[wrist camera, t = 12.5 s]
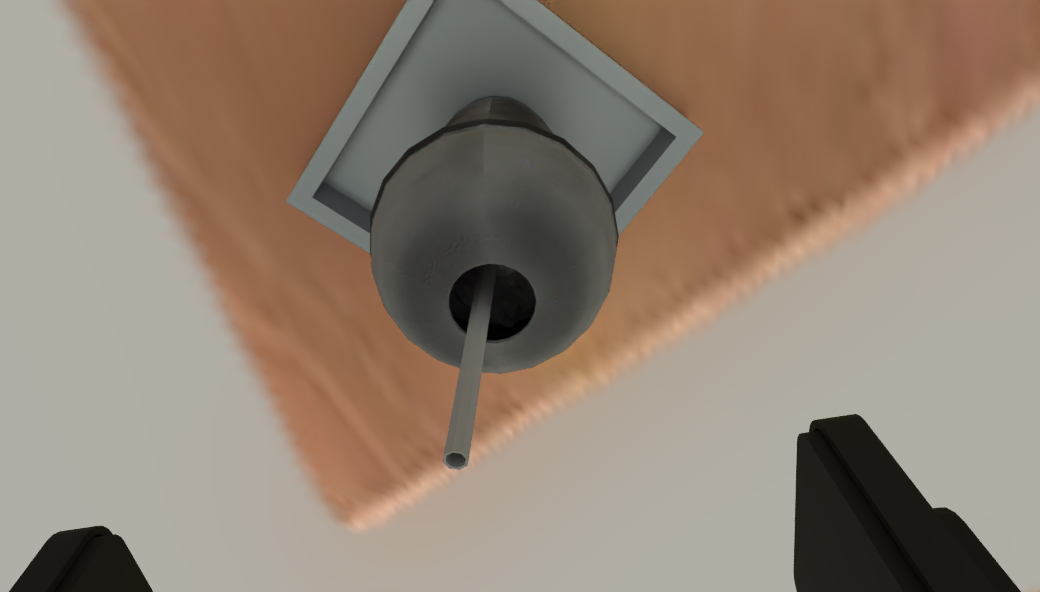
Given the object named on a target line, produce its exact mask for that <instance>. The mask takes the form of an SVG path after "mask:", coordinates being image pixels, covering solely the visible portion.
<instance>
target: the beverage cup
mask: <svg viewBox="0 0 1040 592" xmlns="http://www.w3.org/2000/svg"><path fill="white" fill-rule="evenodd" d="M618 238H619V234H618V228H617V222H616V216H615V210H614V205H613V199H612V197H611V195H610V194H609V192H608V190H607V188H606V186H605V185H604V183H603V181H602V179H601V177H600V175H599V174H598V172H597V170H596V168H595V166H594V165H593V164H592V163H591V162H590V161H589V160H587V159H586V158H585V157H584V156H583V155H582V154H581V153H580V152H579V151H577V150H576V149H575V148H574V147H573V146H572V145H571V144H570V143H569V142H567V141H566V140H565V139H564V138H562V137H560V136H557V135H555V134H553V133H552V131H551V130H550V129H549V127H548V126H547V125H546V123H545V122H544V121H543V119H542V118H541V117H539V116H538V115H537V114H536V113H535V112H534V111H533V110H532V109H531V108H529V107H528V106H527V105H526V104H524V103H522V102H520V101H517V100H515V99H513V98H511V97H504V96H489V97H484V98H480V99H477V100H475V101H473V102H472V103H470V104H468V105H467V106H465V107H464V108H462V109H461V110H459V111H458V112H457V113H456V114H455V115H454V116H453V117H452V119H451V120H450V121H449V122H448V123H447V124H446V126H445V127H443V128H441V129H439V130H438V131H436V132H435V133H433V134H431V135H430V136H428V137H426V138H425V139H423V140H421V141H420V142H418V143H417V144H415V145H413V146H412V147H410V148H408V149H407V151H406V152H405V153H404V154H403V155H402V157H401V158H400V159H399V160H398V162H397V163H396V164H395V165H394V166H393V168H392V169H391V170H390V171H389V173H388V174H387V175H386V176H385V177H384V179H383V181H382V183H381V186H380V189H379V192H378V195H377V197H376V200H375V203H374V206H373V208H372V211H371V214H370V254H371V267H372V273H373V276H374V279H375V282H376V285H377V288H378V291H379V294H380V297H381V299H382V302H383V305H384V307H385V309H386V311H387V312H388V314H389V315H390V316H391V318H392V319H393V320H394V322H395V323H396V324H397V325H398V327H399V328H400V329H401V331H402V332H403V333H404V335H405V336H406V337H407V339H408V340H410V341H411V342H413V343H414V344H415V345H417V346H418V347H420V348H421V349H422V350H424V351H425V352H427V353H428V354H429V355H431V356H432V357H434V358H435V359H437V360H438V361H441V362H444V363H447V364H449V365H452V366H455V367H458V368H460V372H459V377H458V382H457V388H456V393H455V399H454V404H453V409H452V415H451V420H450V425H449V431H448V436H447V442H446V447H445V452H444V458H443V462H444V463H445V464H446V465H447V466H448V467H449V468H451V469H458V470H460V469H462V468H464V467H466V466H467V465H468V460H469V453H470V446H471V440H472V433H473V426H474V419H475V413H476V406H477V399H478V392H479V385H480V379H481V372H484V373H498V374H502V373H507V372H512V371H517V370H522V369H527V368H532V367H534V366H536V365H538V364H540V363H542V362H544V361H546V360H548V359H550V358H552V357H554V356H556V355H558V354H559V353H561V352H563V351H565V350H566V349H567V348H568V347H569V346H570V345H572V344H573V343H574V342H575V341H576V340H577V339H578V338H579V337H580V336H581V335H582V334H583V333H584V332H585V331H586V330H587V329H588V328H589V327H590V326H591V324H592V323H593V321H594V319H595V317H596V315H597V313H598V312H599V310H600V308H601V306H602V304H603V302H604V300H605V299H606V297H607V295H608V293H609V291H610V286H611V280H612V274H613V268H614V262H615V256H616V250H617V244H618Z"/></svg>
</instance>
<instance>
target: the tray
mask: <svg viewBox="0 0 1040 592" xmlns="http://www.w3.org/2000/svg"><path fill="white" fill-rule="evenodd" d="M489 96H504V97H511V98H513V99H515V100H517V101H520V102H522V103H524V104H526V105H527V106H528V107H529V108H531V109H532V110H533V111H534V112H535V113H536V114H537V115H538V116H539V117H541V118H542V119H543V121H544V122H545V123H546V125H547V126H548V127H549V129H550V130H551V131H552V133H553V134H555V135H557V136H560V137H562V138H564V139H565V140H566V141H567V142H569V143H570V144H571V145H572V146H573V147H574V148H575V149H576V150H577V151H579V152H580V153H581V154H582V155H583V156H584V157H585V158H586V159H587V160H589V161H590V162H591V163H592V164H593V165H594V166H595V168H596V170H597V172H598V174H599V175H600V177H601V179H602V181H603V183H604V185H605V186H606V188H607V190H608V192H609V194H610V195H611V197H612V199H613V205H614V210H615V216H616V222H617V228H618V234H619V235H620V234H621V232H622V231H623V230H624V229H625V228H626V226H627V225H628V224H629V223H630V222H631V220H632V219H633V218H634V217H635V216H636V214H637V213H638V212H639V211H640V210H641V208H642V207H643V206H644V205H645V203H646V202H647V201H648V200H649V199H650V197H651V196H652V195H653V194H654V193H655V191H656V190H657V189H658V188H659V187H660V185H661V184H662V183H663V182H664V181H665V179H666V178H667V177H668V176H669V174H670V173H671V172H672V171H673V170H674V168H675V167H676V166H677V165H678V164H679V162H680V161H681V160H682V159H683V158H684V156H685V155H686V154H687V153H688V151H689V150H690V149H691V148H692V147H693V145H694V144H695V143H696V142H697V141H698V139H699V138H700V137H701V136H702V135H703V133H704V132H703V131H702V130H701V129H700V128H698V127H697V126H696V125H695V124H694V123H693V122H691V121H690V120H689V119H688V118H687V117H685V116H684V115H683V114H682V113H680V112H679V111H678V110H677V109H675V108H674V107H673V106H671V105H670V104H669V103H668V102H666V101H665V100H664V99H663V98H661V97H660V96H659V95H658V94H656V93H655V92H654V91H652V90H651V89H650V88H649V87H647V86H646V85H645V84H644V83H642V82H641V81H640V80H639V79H637V78H636V77H635V76H633V75H632V74H631V73H630V72H628V71H627V70H626V69H625V68H623V67H622V66H621V65H620V64H618V63H617V62H616V61H614V60H613V59H612V58H611V57H609V56H608V55H607V54H606V53H604V52H603V51H602V50H601V49H599V48H598V47H597V46H595V45H594V44H593V43H592V42H590V41H589V40H588V39H587V38H585V37H584V36H583V35H582V34H580V33H579V32H578V31H576V30H575V29H574V28H573V27H571V26H570V25H569V24H568V23H566V22H565V21H564V20H562V19H561V18H560V17H559V16H557V15H556V14H555V13H554V12H552V11H551V10H550V9H549V8H547V7H546V6H545V5H543V4H542V3H541V2H540V1H538V0H407V2H406V3H405V5H404V7H403V8H402V10H401V12H400V13H399V15H398V17H397V18H396V20H395V22H394V23H393V25H392V27H391V28H390V30H389V32H388V33H387V35H386V36H385V38H384V40H383V41H382V43H381V45H380V46H379V48H378V50H377V51H376V53H375V55H374V56H373V58H372V60H371V61H370V63H369V65H368V66H367V68H366V70H365V71H364V73H363V75H362V76H361V78H360V80H359V81H358V83H357V85H356V86H355V88H354V89H353V91H352V93H351V94H350V96H349V98H348V99H347V101H346V103H345V104H344V106H343V108H342V109H341V111H340V113H339V114H338V116H337V118H336V119H335V121H334V123H333V124H332V126H331V128H330V129H329V131H328V133H327V134H326V136H325V138H324V139H323V141H322V142H321V144H320V146H319V147H318V149H317V151H316V152H315V154H314V156H313V157H312V159H311V161H310V162H309V164H308V166H307V167H306V169H305V171H304V172H303V174H302V176H301V177H300V179H299V181H298V182H297V184H296V186H295V187H294V189H293V191H292V192H291V194H290V195H289V197H288V199H287V200H286V202H287V203H288V204H290V205H292V206H293V207H295V208H297V209H298V210H300V211H301V212H303V213H305V214H306V215H308V216H310V217H311V218H313V219H314V220H316V221H318V222H319V223H321V224H323V225H324V226H326V227H327V228H329V229H331V230H332V231H334V232H336V233H337V234H339V235H341V236H342V237H344V238H345V239H347V240H349V241H350V242H352V243H354V244H355V245H357V246H358V247H360V248H362V249H363V250H365V251H367V252H368V253H370V214H371V211H372V208H373V206H374V203H375V200H376V197H377V195H378V192H379V189H380V186H381V183H382V181H383V179H384V177H385V176H386V175H387V174H388V173H389V171H390V170H391V169H392V168H393V166H394V165H395V164H396V163H397V162H398V160H399V159H400V158H401V157H402V155H403V154H404V153H405V152H406V151H407V149H408V148H410V147H412V146H413V145H415V144H417V143H418V142H420V141H421V140H423V139H425V138H426V137H428V136H430V135H431V134H433V133H435V132H436V131H438V130H439V129H441V128H443V127H445V126H446V124H447V123H448V122H449V121H450V120H451V119H452V117H453V116H454V115H455V114H456V113H457V112H458V111H459V110H461V109H462V108H464V107H465V106H467V105H468V104H470V103H472V102H473V101H475V100H477V99H480V98H484V97H489Z"/></svg>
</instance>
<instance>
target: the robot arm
mask: <svg viewBox="0 0 1040 592" xmlns="http://www.w3.org/2000/svg"><path fill="white" fill-rule="evenodd" d="M795 506H796V507H795V543H794V544H795V545H794V580H795V586H796V589H797V592H1021V591H1020V590H1019V589H1018V588H1017V586H1016V585H1015V584H1014V583H1013V581H1012V580H1011V579H1010V578H1009V576H1008V575H1007V574H1006V573H1005V571H1004V570H1003V569H1002V568H1001V567H1000V565H999V564H998V563H997V562H996V560H995V559H994V558H993V557H992V555H991V554H990V553H989V552H988V550H987V549H986V548H985V547H984V546H983V544H982V543H981V542H980V541H979V539H978V538H977V537H976V536H975V534H974V533H973V532H972V531H971V529H970V528H969V527H968V526H967V524H966V523H965V522H964V521H963V520H962V519H961V518H960V517H959V516H958V515H957V514H956V513H955V512H953V511H951V510H949V509H948V508H932V507H931V506H930V504H929V503H928V502H927V501H926V499H925V498H924V497H923V495H922V494H921V493H920V491H919V490H918V489H917V488H916V486H915V485H914V484H913V482H912V481H911V480H910V479H909V477H908V476H907V475H906V473H905V472H904V471H903V469H902V468H901V467H900V466H899V464H898V463H897V462H896V460H895V459H894V458H893V456H892V455H891V454H890V453H889V451H888V450H887V449H886V447H885V446H884V445H883V444H882V442H881V441H880V440H879V439H878V437H877V436H876V434H875V433H874V432H873V431H872V429H871V428H870V427H869V426H868V424H867V423H866V421H865V420H864V419H863V418H862V417H861V416H859V415H857V414H853V415H847V416H840V417H833V418H826V419H819V420H814V421H812V423H811V424H810V429H809V432H808V433H802V434H799V436H798V439H797V466H796V505H795ZM9 592H153V591H152V589H151V587H150V585H149V584H148V582H147V580H146V579H145V577H144V575H143V573H142V572H141V570H140V568H139V566H138V565H137V563H136V561H135V559H134V558H133V556H132V554H131V552H130V551H129V549H128V547H127V545H126V544H125V542H124V540H123V539H122V538H121V537H120V536H118V535H113V534H112V533H111V531H110V530H109V529H108V528H106V527H104V526H94V527H88V528H81V529H74V530H67V531H60V532H58V533H56V534H54V535H52V536H51V537H50V538H49V539H48V540H47V541H46V543H45V544H44V545H43V547H42V548H41V550H40V551H39V552H38V554H37V555H36V556H35V558H34V559H33V561H32V562H31V563H30V564H29V566H28V567H27V568H26V570H25V571H24V572H23V574H22V575H21V576H20V578H19V579H18V580H17V582H16V583H15V584H14V586H13V587H12V588H11V590H10V591H9Z"/></svg>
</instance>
